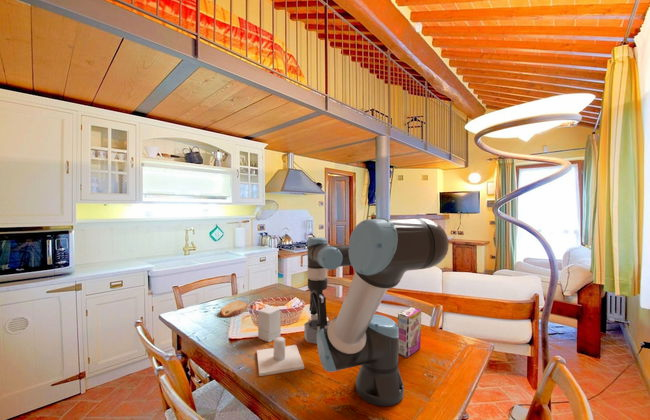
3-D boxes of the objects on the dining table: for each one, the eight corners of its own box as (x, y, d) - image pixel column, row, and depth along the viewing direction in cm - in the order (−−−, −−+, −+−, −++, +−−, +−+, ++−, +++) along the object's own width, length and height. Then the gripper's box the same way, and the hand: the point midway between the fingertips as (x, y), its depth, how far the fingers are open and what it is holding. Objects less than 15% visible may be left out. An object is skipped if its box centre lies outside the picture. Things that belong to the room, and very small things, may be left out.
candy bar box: (408, 359, 107) (408, 317, 107) (396, 354, 111) (397, 313, 110) (421, 348, 115) (421, 309, 115) (410, 344, 118) (410, 306, 118)
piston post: (304, 368, 100) (304, 347, 100) (259, 376, 96) (259, 353, 96) (296, 347, 116) (296, 328, 115) (257, 352, 111) (257, 333, 111)
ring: (333, 341, 102) (333, 327, 102) (308, 345, 99) (308, 331, 99) (326, 330, 111) (326, 318, 111) (302, 333, 108) (302, 321, 108)
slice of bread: (242, 302, 169) (242, 296, 169) (255, 311, 155) (255, 305, 155) (212, 309, 158) (212, 303, 158) (222, 319, 144) (222, 312, 144)
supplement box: (281, 336, 125) (281, 308, 125) (268, 342, 119) (268, 313, 119) (269, 331, 129) (269, 305, 129) (257, 338, 123) (257, 310, 123)
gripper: (336, 284, 96) (336, 349, 95) (319, 271, 117) (319, 324, 117) (315, 286, 94) (315, 352, 93) (301, 272, 115) (302, 326, 115)
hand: (317, 336), depth 105 cm, fingers closed on ring, 10 cm apart
